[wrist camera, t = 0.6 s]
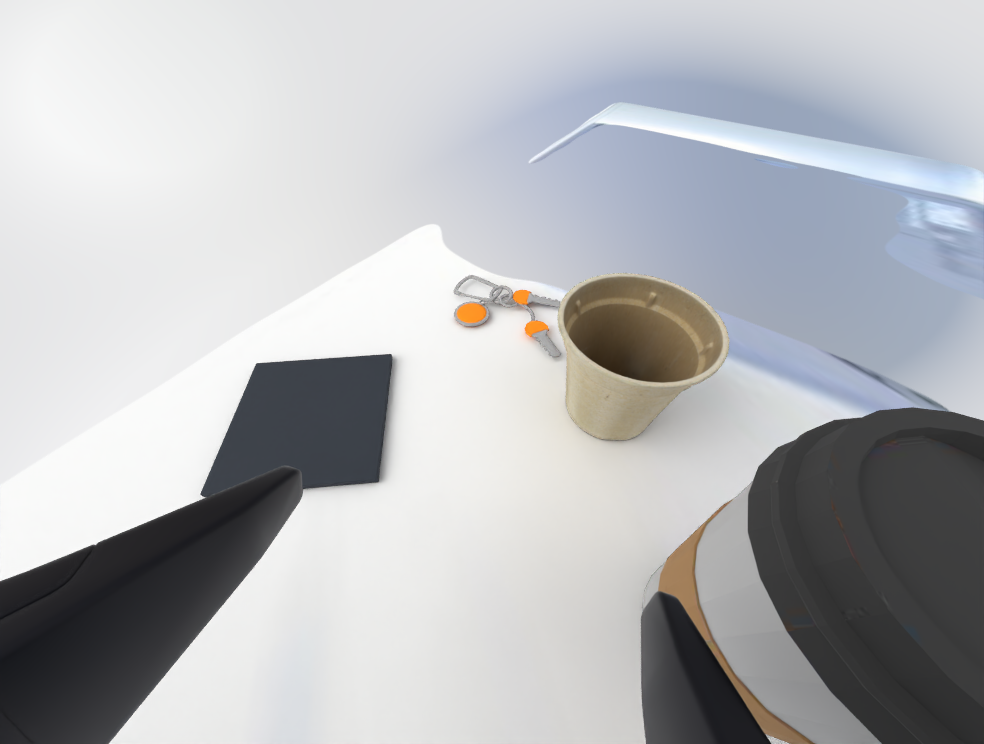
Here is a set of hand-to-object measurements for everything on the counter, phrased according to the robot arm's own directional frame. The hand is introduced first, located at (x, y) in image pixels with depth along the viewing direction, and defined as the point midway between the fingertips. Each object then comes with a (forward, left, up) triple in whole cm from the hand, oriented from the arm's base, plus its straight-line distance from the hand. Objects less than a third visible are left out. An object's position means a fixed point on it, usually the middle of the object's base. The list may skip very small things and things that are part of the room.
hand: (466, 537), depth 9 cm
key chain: (+23, -4, -14) cm, 27 cm away
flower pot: (+12, -10, -14) cm, 21 cm away
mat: (+13, +12, -14) cm, 22 cm away
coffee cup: (-2, -11, -14) cm, 18 cm away
